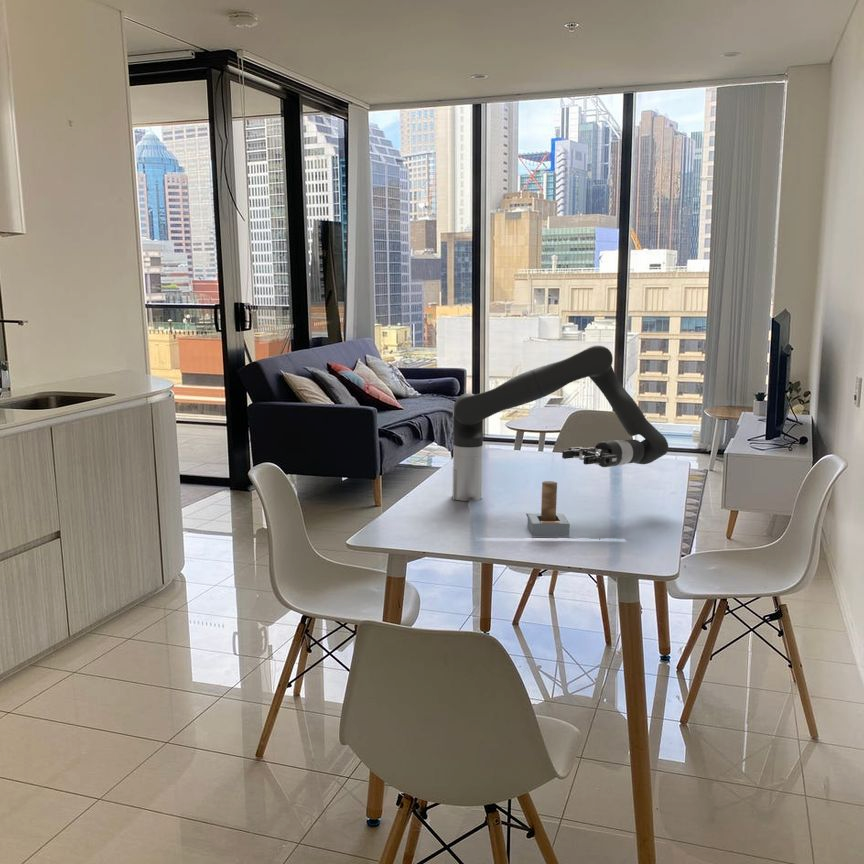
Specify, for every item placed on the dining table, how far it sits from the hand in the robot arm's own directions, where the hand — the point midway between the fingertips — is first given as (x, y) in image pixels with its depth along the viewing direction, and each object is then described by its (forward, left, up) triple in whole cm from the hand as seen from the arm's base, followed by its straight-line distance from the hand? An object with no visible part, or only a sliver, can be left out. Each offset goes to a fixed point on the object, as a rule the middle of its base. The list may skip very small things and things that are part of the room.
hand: (573, 457), depth 243 cm
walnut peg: (-8, -10, -19) cm, 23 cm away
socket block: (-8, -10, -19) cm, 23 cm away
